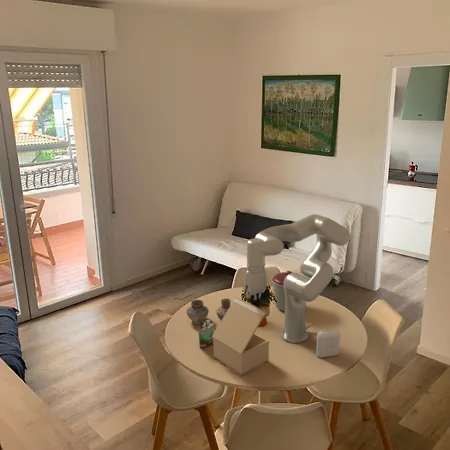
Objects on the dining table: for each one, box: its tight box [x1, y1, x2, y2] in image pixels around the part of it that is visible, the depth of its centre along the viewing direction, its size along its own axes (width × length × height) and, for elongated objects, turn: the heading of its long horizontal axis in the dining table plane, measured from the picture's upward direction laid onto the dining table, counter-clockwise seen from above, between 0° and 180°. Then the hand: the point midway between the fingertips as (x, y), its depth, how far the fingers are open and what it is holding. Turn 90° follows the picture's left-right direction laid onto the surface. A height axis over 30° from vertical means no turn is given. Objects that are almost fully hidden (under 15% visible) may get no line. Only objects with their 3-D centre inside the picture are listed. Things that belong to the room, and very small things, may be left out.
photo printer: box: [315, 328, 341, 358], centre depth 205 cm, size 10×4×12 cm, turn 103°
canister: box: [271, 270, 301, 312], centre depth 247 cm, size 18×18×21 cm
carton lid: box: [212, 296, 267, 354], centre depth 198 cm, size 20×18×1 cm
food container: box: [198, 317, 216, 349], centre depth 216 cm, size 12×6×10 cm, turn 168°
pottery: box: [186, 298, 232, 325], centre depth 235 cm, size 11×25×12 cm, turn 88°
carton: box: [212, 332, 270, 377], centre depth 203 cm, size 16×18×10 cm
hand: (255, 306), depth 203 cm, fingers closed
